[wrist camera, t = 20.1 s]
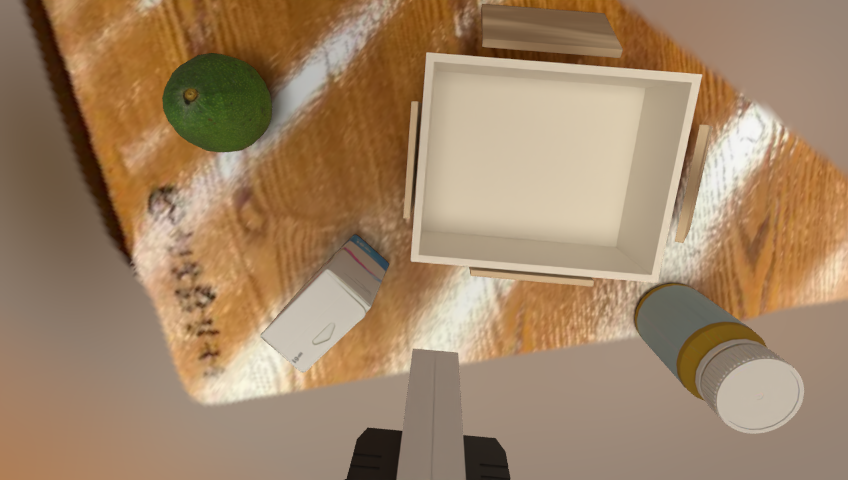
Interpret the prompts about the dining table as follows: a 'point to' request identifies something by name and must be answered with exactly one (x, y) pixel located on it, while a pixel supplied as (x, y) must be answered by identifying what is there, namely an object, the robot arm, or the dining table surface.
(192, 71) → the fruit
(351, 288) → the ink box
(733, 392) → the bottle
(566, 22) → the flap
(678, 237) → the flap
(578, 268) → the carton
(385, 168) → the dining table surface
